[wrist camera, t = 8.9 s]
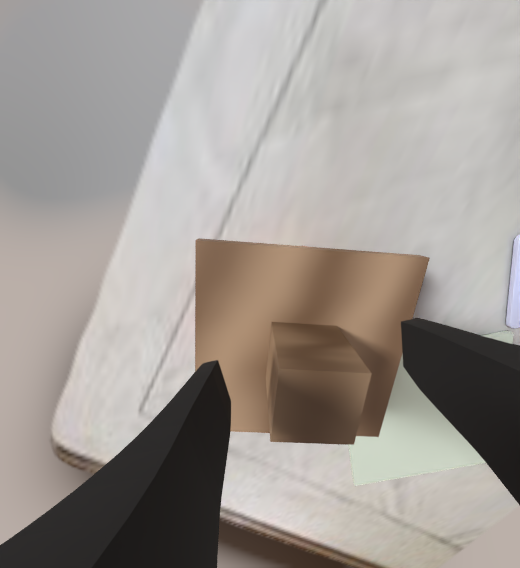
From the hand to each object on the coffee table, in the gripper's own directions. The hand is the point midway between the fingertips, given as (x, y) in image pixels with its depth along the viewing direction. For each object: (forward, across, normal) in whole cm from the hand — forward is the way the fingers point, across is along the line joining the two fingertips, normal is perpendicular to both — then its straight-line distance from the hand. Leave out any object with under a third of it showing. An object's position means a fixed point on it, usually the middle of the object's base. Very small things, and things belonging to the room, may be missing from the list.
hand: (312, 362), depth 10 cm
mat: (+10, -11, +16) cm, 22 cm away
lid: (+6, 0, +3) cm, 7 cm away
